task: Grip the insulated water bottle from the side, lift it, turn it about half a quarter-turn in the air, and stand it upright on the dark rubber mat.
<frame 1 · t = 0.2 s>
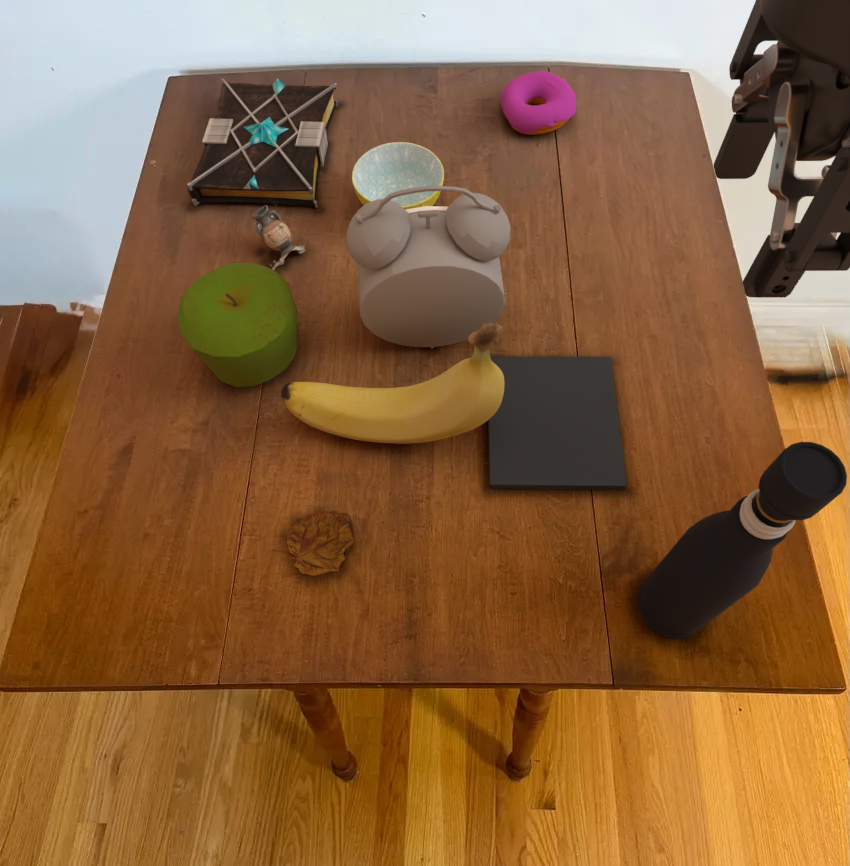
hand: (746, 229, 39), 39 cm above the table, tool pointing down, fingers open, 8 cm apart
donut: (536, 118, 102), on the table
bowl: (400, 211, 94), on the table
insulated water bottle: (670, 605, 69), on the table
alarm clock: (431, 331, 85), on the table
apple: (255, 356, 84), on the table
mat: (552, 422, 78), on the table
book: (270, 154, 100), on the table
banana: (393, 431, 78), on the table
vase: (279, 250, 91), on the table
leaf: (321, 545, 72), on the table
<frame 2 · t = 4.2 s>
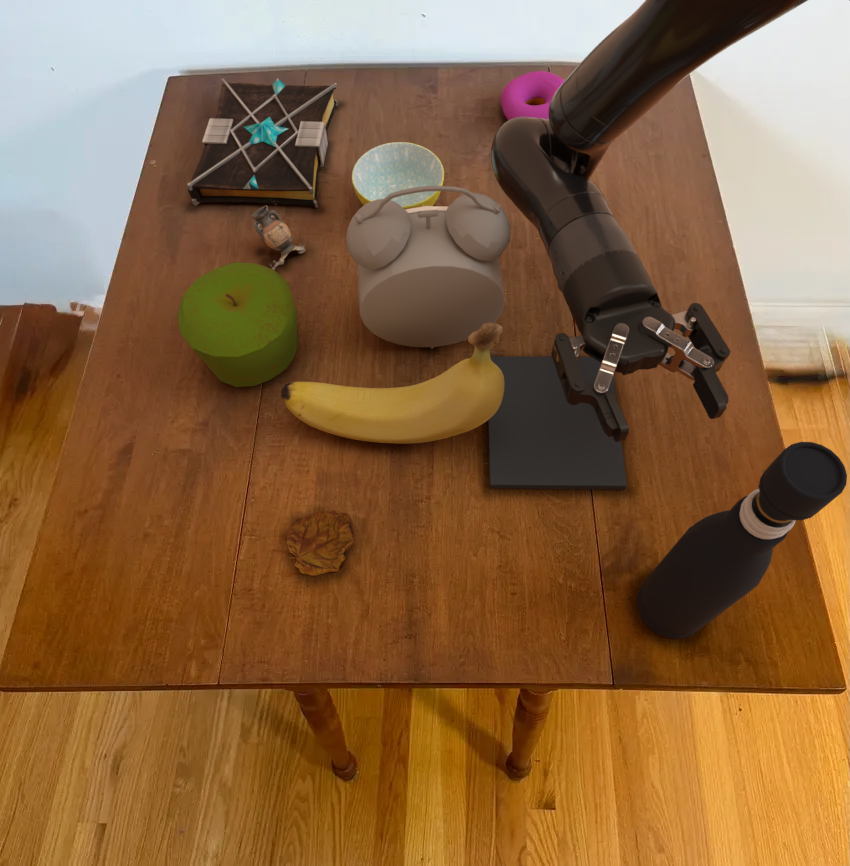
hand: (671, 425, 59), 16 cm above the table, tool horizontal, fingers open, 8 cm apart
nothing on the table moved.
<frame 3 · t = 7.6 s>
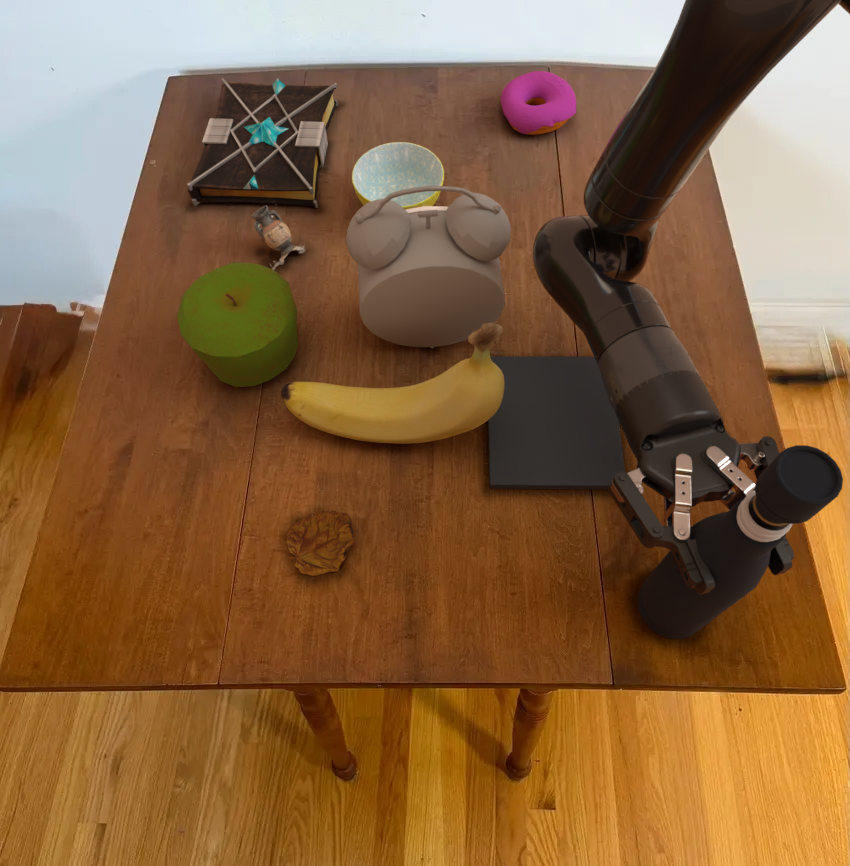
hand: (745, 580, 53), 16 cm above the table, tool horizontal, fingers closed on insulated water bottle, 5 cm apart
insulated water bottle: (670, 605, 68), on the table, touching gripper
everything else where it was.
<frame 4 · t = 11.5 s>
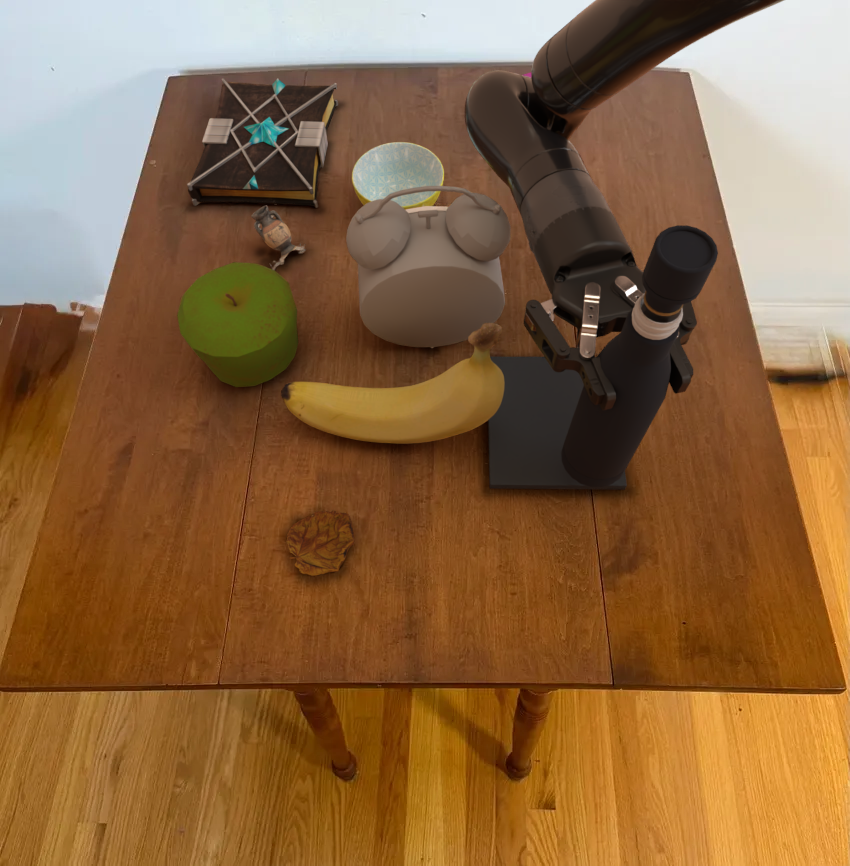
hand: (646, 395, 55), 21 cm above the table, tool horizontal, fingers closed on insulated water bottle, 5 cm apart
insulated water bottle: (593, 458, 71), point 5 cm above the table, touching gripper
everything else where it was.
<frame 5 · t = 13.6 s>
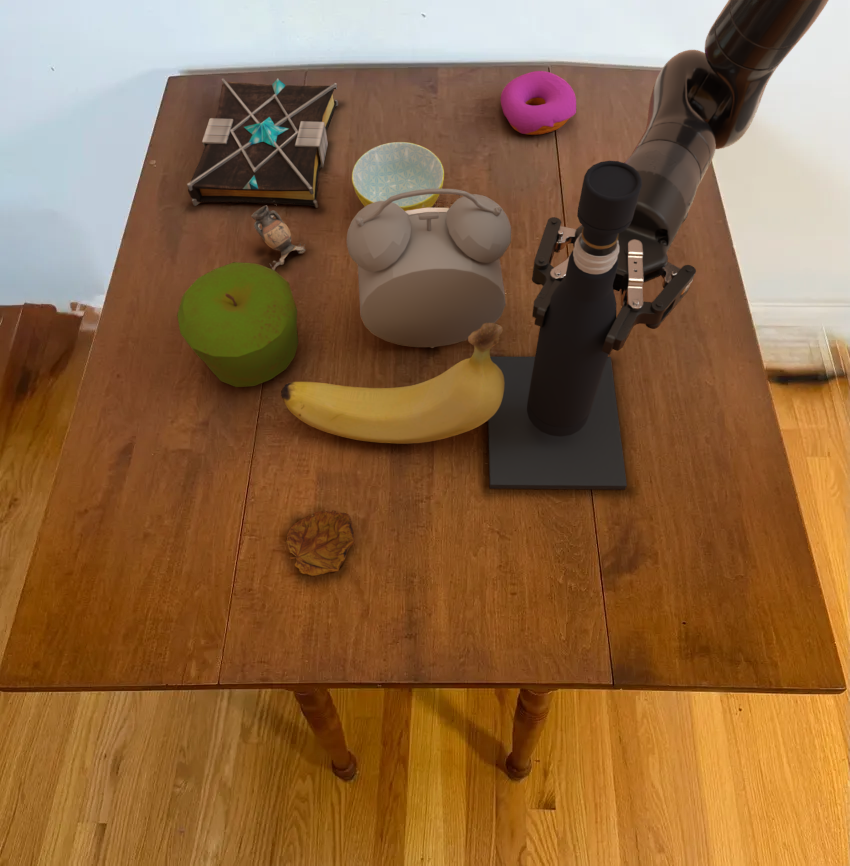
hand: (573, 333, 59), 20 cm above the table, tool horizontal, fingers closed on insulated water bottle, 5 cm apart
insulated water bottle: (557, 410, 74), point 4 cm above the table, touching gripper
everything else where it was.
when the fingers open (17 cm above the table, at t = 15.4 s): insulated water bottle stays where it is, resting on mat.
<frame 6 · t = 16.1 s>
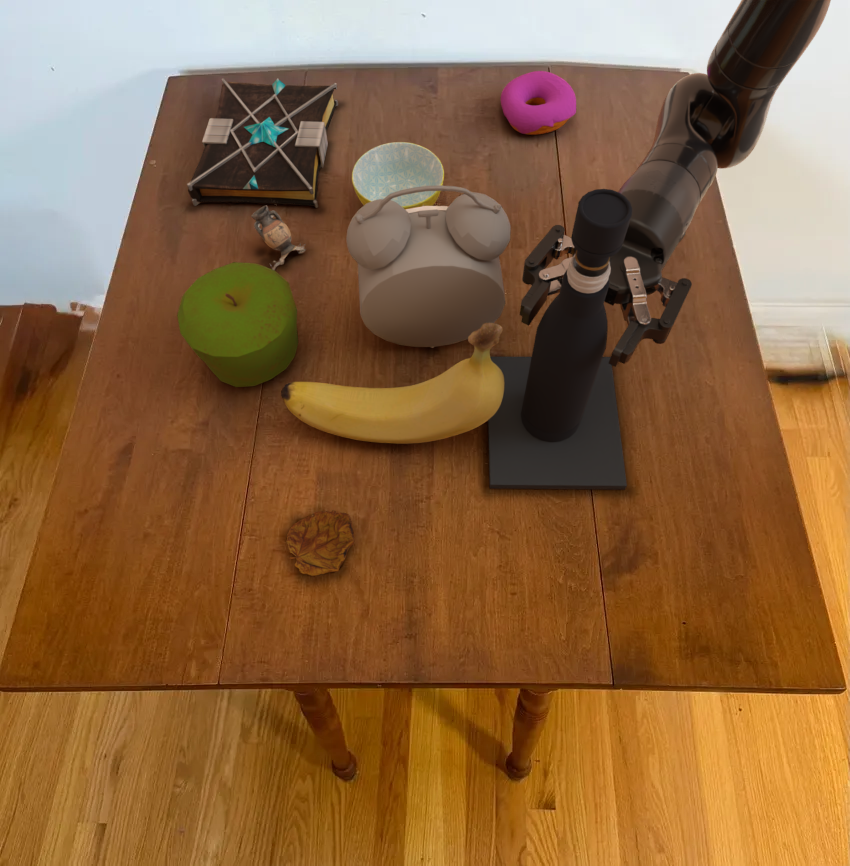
hand: (568, 339, 62), 18 cm above the table, tool horizontal, fingers open, 8 cm apart
insulated water bottle: (550, 417, 78), point 1 cm above the table, touching mat
everything else where it was.
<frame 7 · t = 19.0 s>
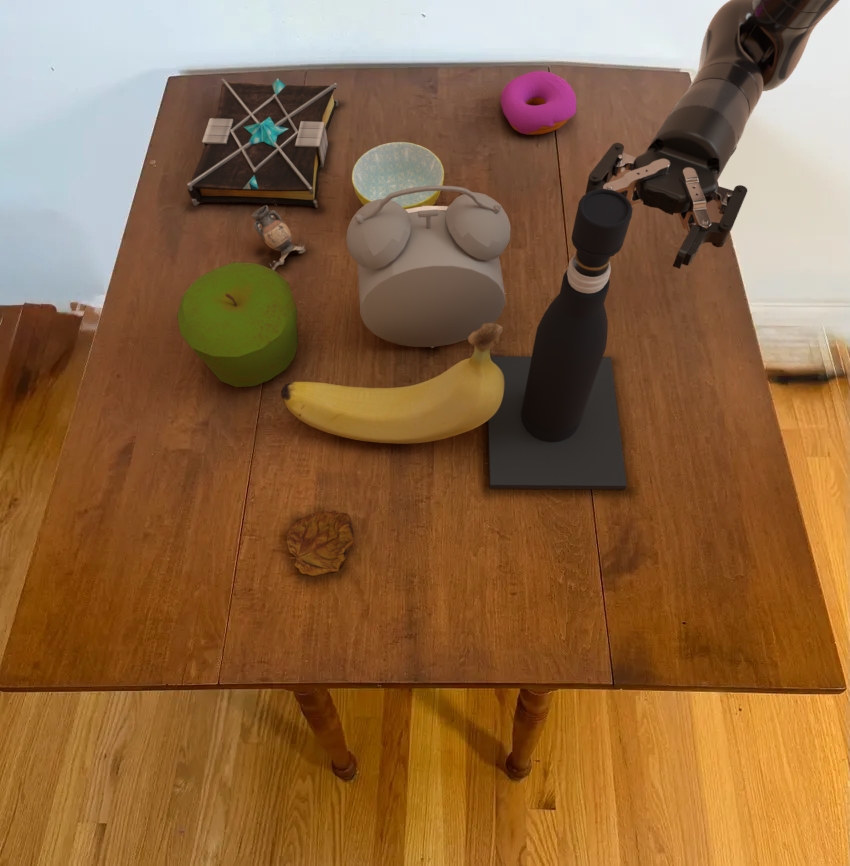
hand: (634, 245, 67), 18 cm above the table, tool horizontal, fingers open, 8 cm apart
nothing on the table moved.
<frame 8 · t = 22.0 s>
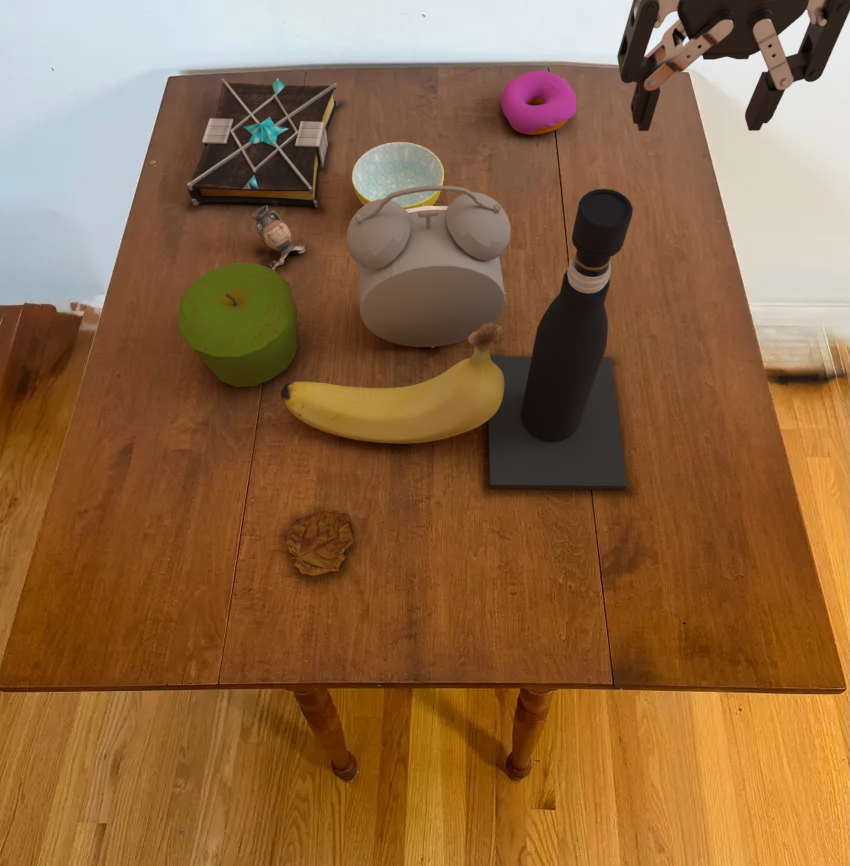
hand: (696, 124, 56), 30 cm above the table, tool pointing down, fingers open, 8 cm apart
nothing on the table moved.
at the end: insulated water bottle inside the target area on the mat (0.4 cm from its centre), point 0.8 cm above the mat's base; insulated water bottle tilted 0°; the gripper is holding nothing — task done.
